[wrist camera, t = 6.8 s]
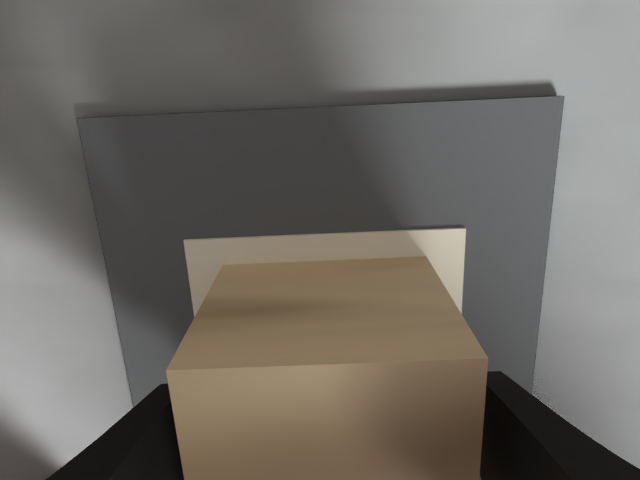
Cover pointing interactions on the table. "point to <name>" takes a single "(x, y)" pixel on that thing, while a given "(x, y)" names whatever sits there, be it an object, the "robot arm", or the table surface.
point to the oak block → (329, 375)
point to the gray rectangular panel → (326, 209)
